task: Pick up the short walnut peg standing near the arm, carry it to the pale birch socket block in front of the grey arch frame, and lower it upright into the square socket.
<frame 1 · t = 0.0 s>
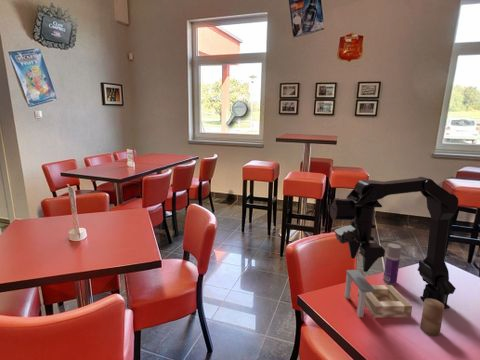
hand: (358, 264, 96), 15 cm above the table, tool pointing down, fingers open, 9 cm apart
grey arch frame: (356, 306, 98), on the table
container: (389, 282, 114), on the table
socket block: (382, 305, 99), on the table
peg: (429, 330, 87), on the table
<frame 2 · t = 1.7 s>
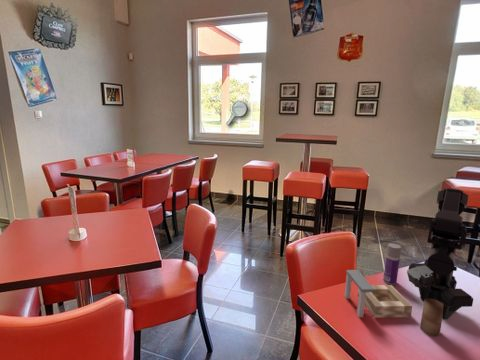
hand: (433, 309, 86), 7 cm above the table, tool pointing down, fingers open, 9 cm apart
nothing on the table moved.
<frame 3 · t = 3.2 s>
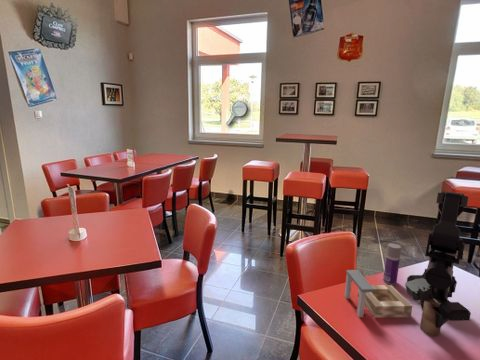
hand: (431, 321, 87), 3 cm above the table, tool pointing down, fingers closed on peg, 5 cm apart
peg: (429, 330, 87), on the table, touching gripper
everything else where it was.
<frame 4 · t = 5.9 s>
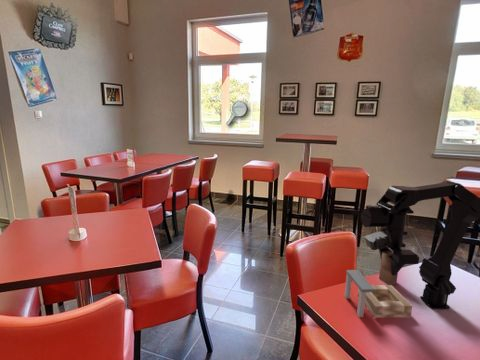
hand: (388, 271, 95), 13 cm above the table, tool pointing down, fingers closed on peg, 5 cm apart
peg: (387, 279, 96), point 10 cm above the table, touching gripper
everything else where it was.
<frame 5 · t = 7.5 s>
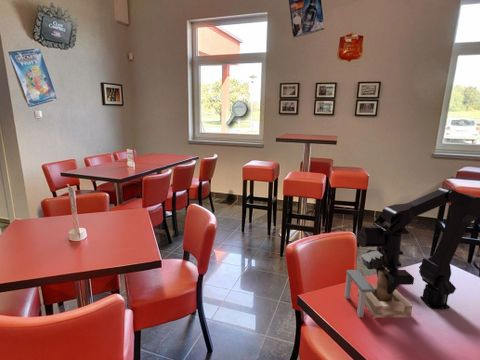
hand: (385, 289, 97), 6 cm above the table, tool pointing down, fingers closed on peg, 5 cm apart
peg: (383, 297, 98), point 3 cm above the table, touching gripper
everything else where it was.
when the fingers open (5 cm above the table, at t = 8.7 s): peg stays where it is, resting on socket block.
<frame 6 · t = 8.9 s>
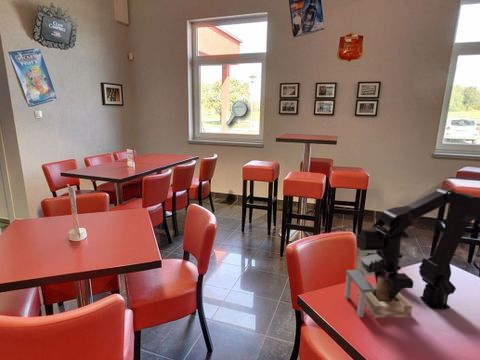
hand: (384, 292, 98), 5 cm above the table, tool pointing down, fingers open, 7 cm apart
peg: (382, 303, 98), point 1 cm above the table, touching socket block
everything else where it was.
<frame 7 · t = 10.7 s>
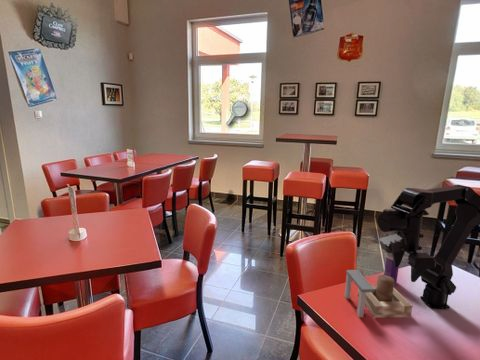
hand: (404, 274, 94), 13 cm above the table, tool pointing down, fingers open, 9 cm apart
nothing on the table moved.
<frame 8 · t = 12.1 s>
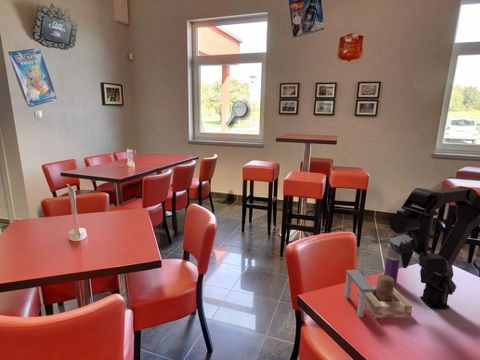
hand: (413, 275, 93), 13 cm above the table, tool pointing down, fingers open, 9 cm apart
nothing on the table moved.
at the end: peg 0.0 cm off-centre on the socket block, point 1.0 cm above the socket block's base; peg tilted 0°; the gripper is holding nothing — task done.
